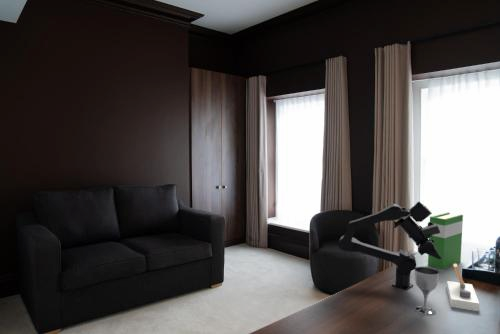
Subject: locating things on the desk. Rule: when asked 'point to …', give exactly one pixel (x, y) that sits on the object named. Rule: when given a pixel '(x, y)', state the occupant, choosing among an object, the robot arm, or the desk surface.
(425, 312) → the wine glass
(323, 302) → the desk surface
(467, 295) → the push button
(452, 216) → the cereal box
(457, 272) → the paddle lever
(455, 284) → the switch panel
